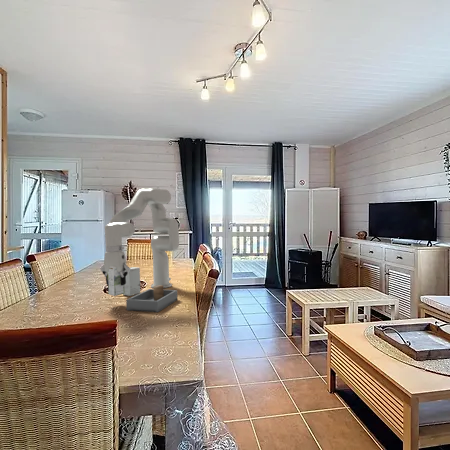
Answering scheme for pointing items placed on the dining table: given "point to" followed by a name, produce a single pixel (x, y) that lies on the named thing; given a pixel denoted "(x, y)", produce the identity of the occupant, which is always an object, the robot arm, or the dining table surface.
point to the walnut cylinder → (158, 292)
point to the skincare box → (132, 282)
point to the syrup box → (114, 282)
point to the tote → (150, 301)
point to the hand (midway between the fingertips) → (116, 284)
